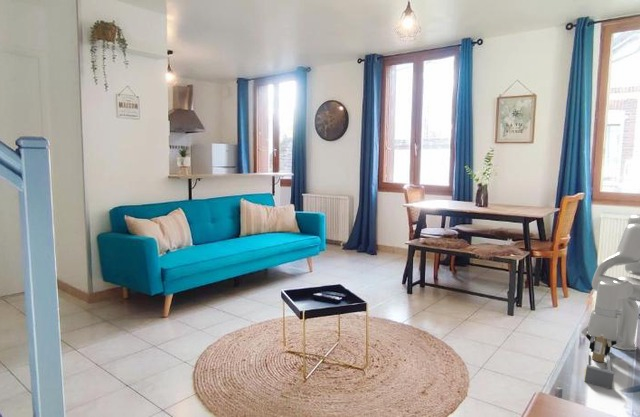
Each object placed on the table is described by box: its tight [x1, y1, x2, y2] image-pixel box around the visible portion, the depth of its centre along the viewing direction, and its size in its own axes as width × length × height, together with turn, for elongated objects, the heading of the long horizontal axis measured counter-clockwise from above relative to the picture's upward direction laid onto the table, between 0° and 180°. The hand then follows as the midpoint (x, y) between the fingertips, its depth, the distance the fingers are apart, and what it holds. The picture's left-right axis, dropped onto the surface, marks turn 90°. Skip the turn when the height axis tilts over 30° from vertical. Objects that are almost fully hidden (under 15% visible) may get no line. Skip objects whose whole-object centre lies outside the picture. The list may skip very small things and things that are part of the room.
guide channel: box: [584, 350, 615, 390], centre depth 170 cm, size 27×8×6 cm, turn 148°
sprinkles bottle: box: [591, 334, 607, 363], centre depth 177 cm, size 5×5×13 cm
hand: (598, 352), depth 178 cm, fingers closed on sprinkles bottle, 4 cm apart
